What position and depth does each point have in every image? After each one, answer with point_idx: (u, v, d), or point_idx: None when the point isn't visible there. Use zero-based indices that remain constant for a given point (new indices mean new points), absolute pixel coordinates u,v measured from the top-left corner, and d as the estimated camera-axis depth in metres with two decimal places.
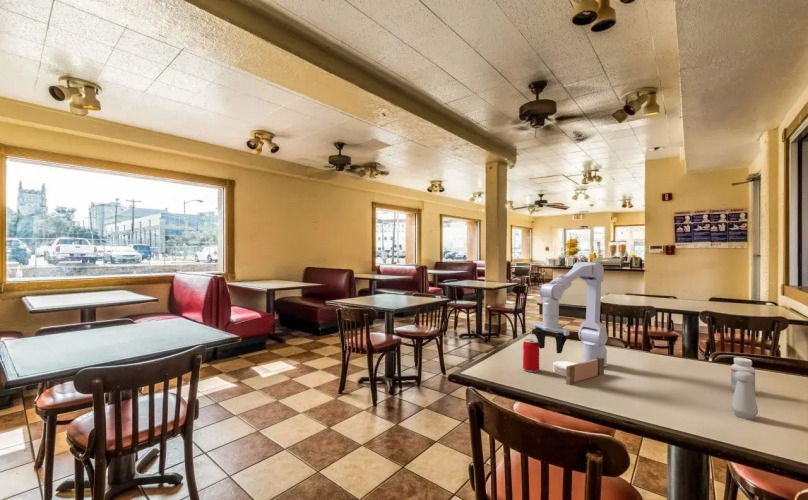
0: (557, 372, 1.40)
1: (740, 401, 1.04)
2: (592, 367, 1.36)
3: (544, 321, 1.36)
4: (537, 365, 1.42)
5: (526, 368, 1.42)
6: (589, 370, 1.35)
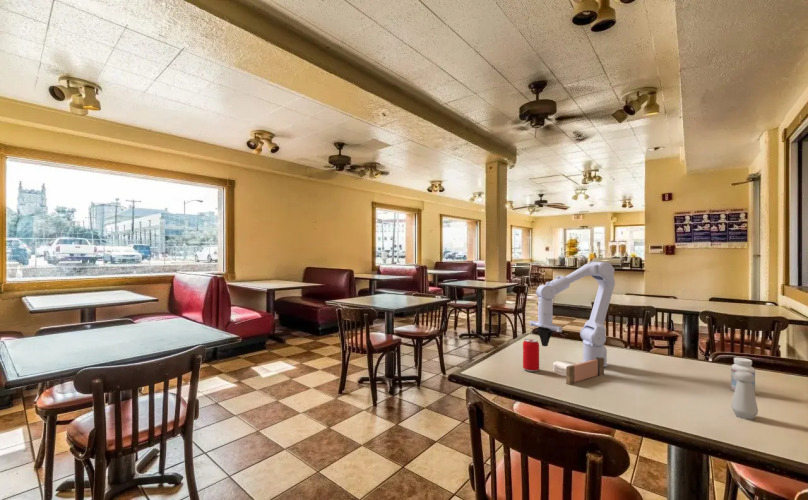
0: (557, 372, 1.40)
1: (740, 401, 1.04)
2: (592, 367, 1.36)
3: (539, 319, 1.49)
4: (537, 364, 1.42)
5: (526, 367, 1.42)
6: (589, 370, 1.35)
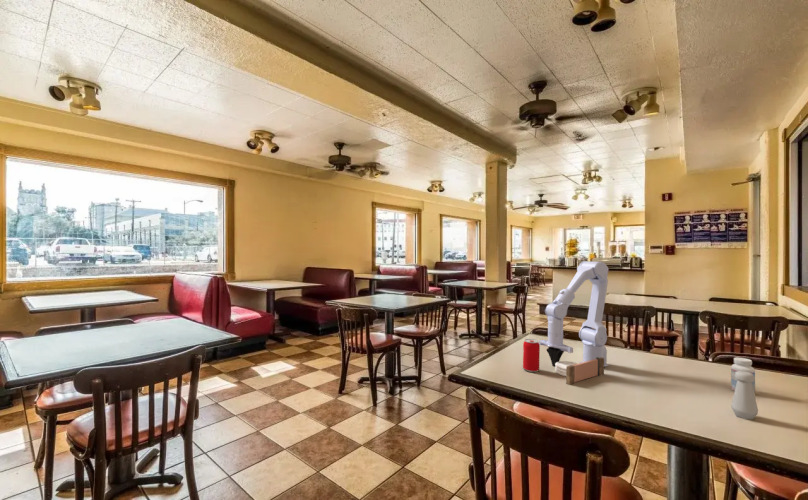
0: (559, 372, 1.39)
1: (740, 401, 1.04)
2: (592, 367, 1.36)
3: (549, 339, 1.45)
4: (537, 365, 1.41)
5: (526, 368, 1.42)
6: (589, 370, 1.35)
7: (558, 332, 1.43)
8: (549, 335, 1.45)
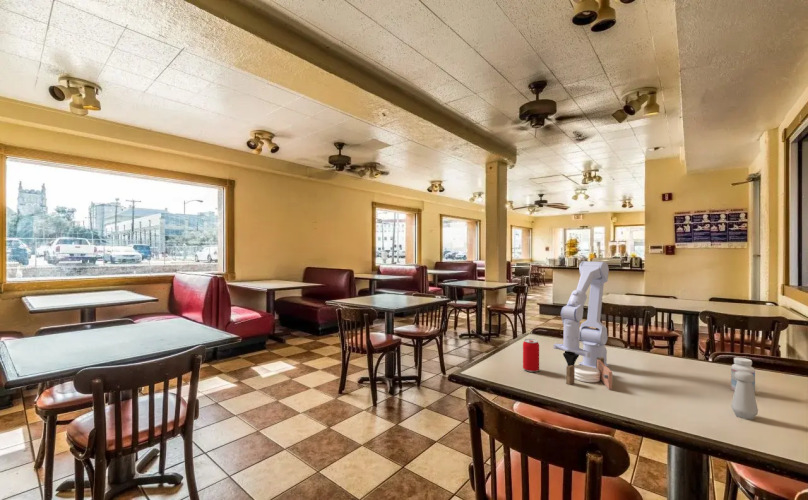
0: (578, 378, 1.33)
1: (740, 401, 1.04)
2: None
3: (565, 342, 1.39)
4: (536, 365, 1.41)
5: (525, 368, 1.43)
6: None
7: (577, 335, 1.37)
8: (565, 339, 1.39)
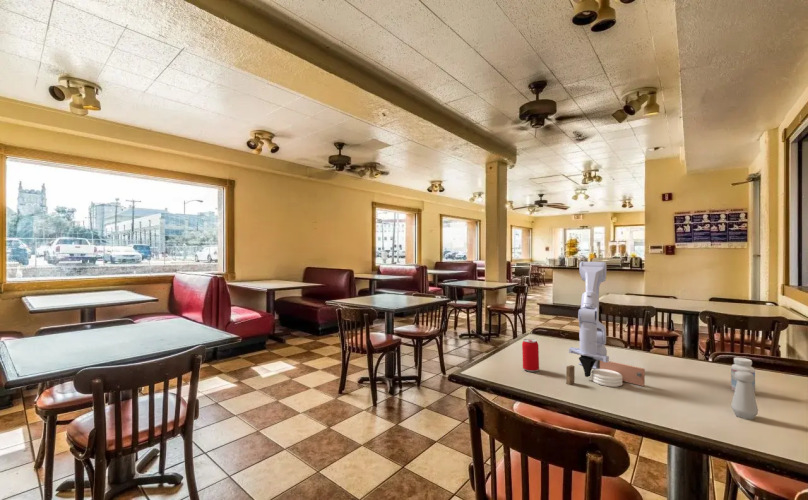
0: (609, 384, 1.27)
1: (740, 401, 1.04)
2: None
3: (581, 346, 1.33)
4: (536, 365, 1.41)
5: (525, 368, 1.43)
6: None
7: (596, 339, 1.32)
8: (581, 342, 1.33)
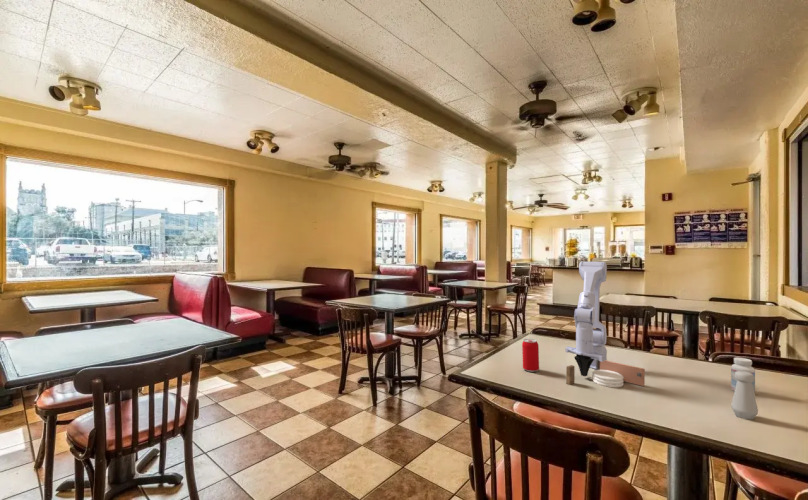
0: (610, 385, 1.27)
1: (740, 401, 1.04)
2: None
3: (578, 346, 1.35)
4: (536, 365, 1.41)
5: (525, 368, 1.43)
6: None
7: (592, 338, 1.33)
8: (578, 342, 1.35)
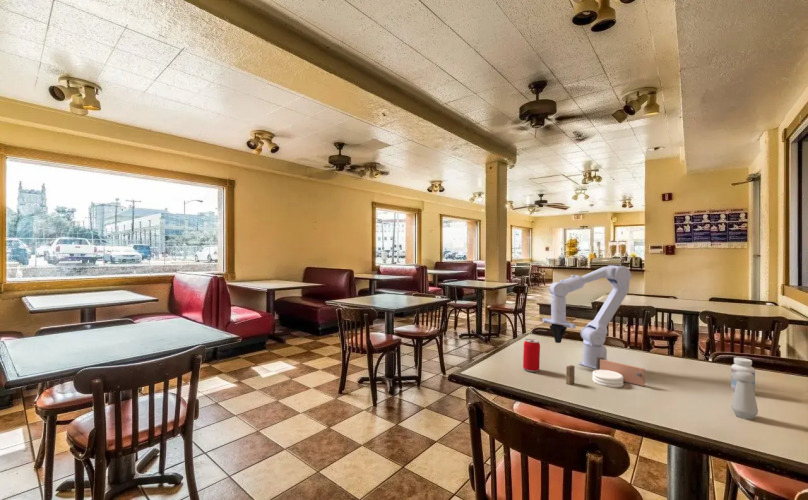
0: (610, 385, 1.27)
1: (740, 401, 1.04)
2: None
3: (552, 316, 1.51)
4: (536, 365, 1.41)
5: (525, 367, 1.43)
6: None
7: (559, 309, 1.49)
8: (552, 312, 1.51)
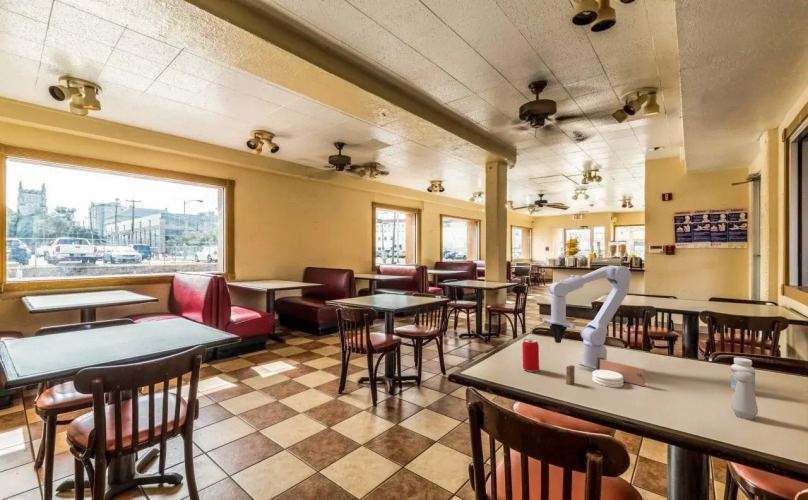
0: (610, 385, 1.27)
1: (740, 401, 1.04)
2: None
3: (552, 316, 1.51)
4: (536, 365, 1.41)
5: (525, 368, 1.43)
6: None
7: (559, 309, 1.49)
8: (552, 312, 1.51)
